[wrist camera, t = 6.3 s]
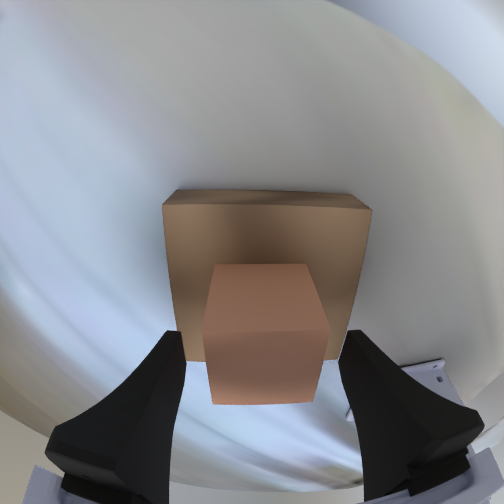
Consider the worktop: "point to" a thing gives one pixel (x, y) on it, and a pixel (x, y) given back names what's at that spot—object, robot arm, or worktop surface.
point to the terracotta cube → (263, 334)
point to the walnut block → (263, 248)
